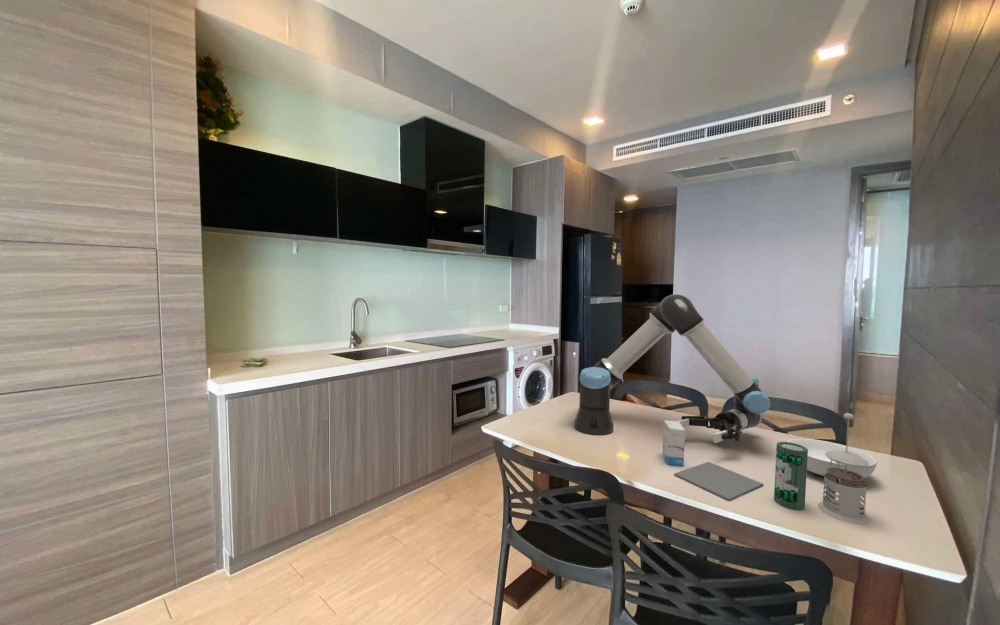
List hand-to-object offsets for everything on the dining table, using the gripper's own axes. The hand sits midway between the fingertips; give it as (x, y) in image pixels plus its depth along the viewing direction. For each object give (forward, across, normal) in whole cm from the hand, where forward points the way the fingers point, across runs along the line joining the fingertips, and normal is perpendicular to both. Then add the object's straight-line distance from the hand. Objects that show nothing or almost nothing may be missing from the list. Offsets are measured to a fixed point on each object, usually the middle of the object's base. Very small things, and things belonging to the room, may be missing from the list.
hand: (694, 431), depth 129 cm
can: (+7, -31, -8) cm, 33 cm away
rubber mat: (+11, -15, -8) cm, 20 cm away
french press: (-1, -39, -8) cm, 40 cm away
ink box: (+11, 0, -8) cm, 13 cm away
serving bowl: (-24, -28, -8) cm, 38 cm away
